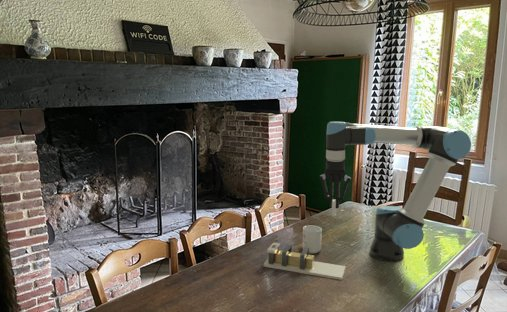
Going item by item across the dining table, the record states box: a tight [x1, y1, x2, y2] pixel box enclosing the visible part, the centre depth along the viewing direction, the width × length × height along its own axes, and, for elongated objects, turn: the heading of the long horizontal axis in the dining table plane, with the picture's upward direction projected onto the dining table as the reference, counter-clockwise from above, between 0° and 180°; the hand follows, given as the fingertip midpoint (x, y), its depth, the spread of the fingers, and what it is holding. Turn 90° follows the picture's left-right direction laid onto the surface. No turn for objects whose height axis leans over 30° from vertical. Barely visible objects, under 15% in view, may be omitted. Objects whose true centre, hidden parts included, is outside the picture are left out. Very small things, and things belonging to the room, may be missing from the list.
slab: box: [263, 258, 347, 281], centre depth 170 cm, size 34×11×1 cm, turn 69°
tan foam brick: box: [267, 249, 315, 268], centre depth 172 cm, size 20×4×4 cm, turn 69°
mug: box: [302, 224, 323, 255], centre depth 189 cm, size 12×9×11 cm
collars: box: [266, 242, 310, 270], centre depth 172 cm, size 17×8×6 cm, turn 69°
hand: (333, 215), depth 163 cm, fingers closed
